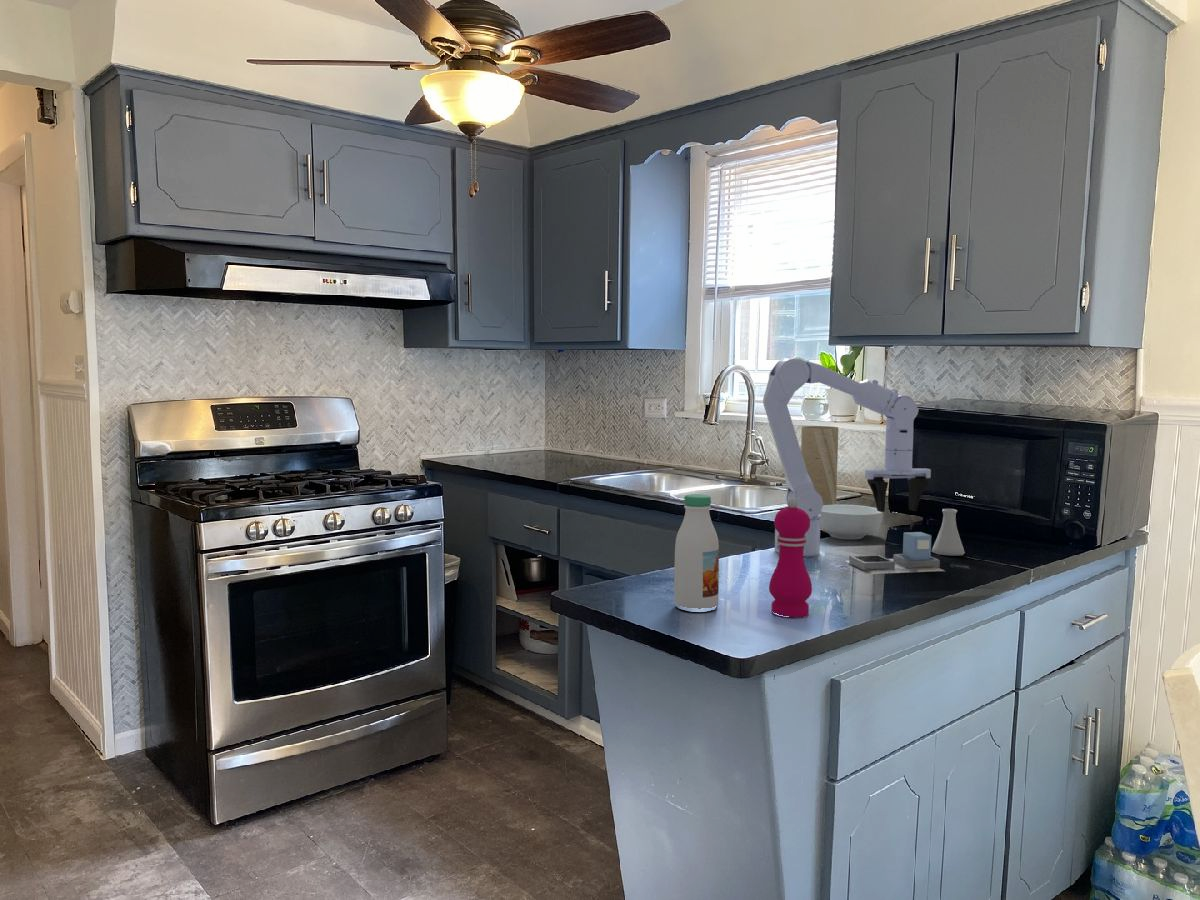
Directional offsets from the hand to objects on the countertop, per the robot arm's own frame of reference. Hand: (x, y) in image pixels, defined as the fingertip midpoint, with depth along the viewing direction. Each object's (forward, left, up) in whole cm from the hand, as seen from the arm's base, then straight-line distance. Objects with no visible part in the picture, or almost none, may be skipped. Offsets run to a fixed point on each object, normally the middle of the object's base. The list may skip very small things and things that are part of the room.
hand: (896, 510), depth 196 cm
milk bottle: (-55, -32, -11) cm, 65 cm away
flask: (+14, +2, -11) cm, 18 cm away
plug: (-2, -12, -9) cm, 15 cm away
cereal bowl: (0, +24, -11) cm, 26 cm away
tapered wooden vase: (+5, +53, -11) cm, 54 cm away
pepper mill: (-40, -38, -11) cm, 56 cm away
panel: (-7, -12, -10) cm, 17 cm away
